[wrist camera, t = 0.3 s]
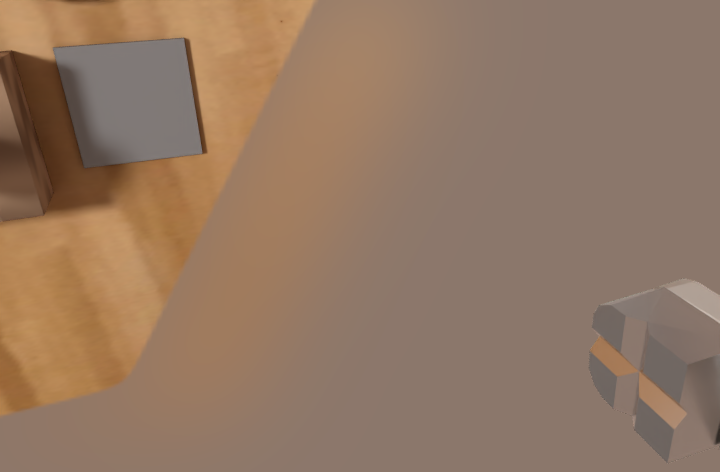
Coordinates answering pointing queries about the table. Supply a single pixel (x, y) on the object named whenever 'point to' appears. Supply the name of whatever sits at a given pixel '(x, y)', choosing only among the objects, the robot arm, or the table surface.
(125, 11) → the table surface
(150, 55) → the mat
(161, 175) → the table surface
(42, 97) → the table surface
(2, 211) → the pocket block
